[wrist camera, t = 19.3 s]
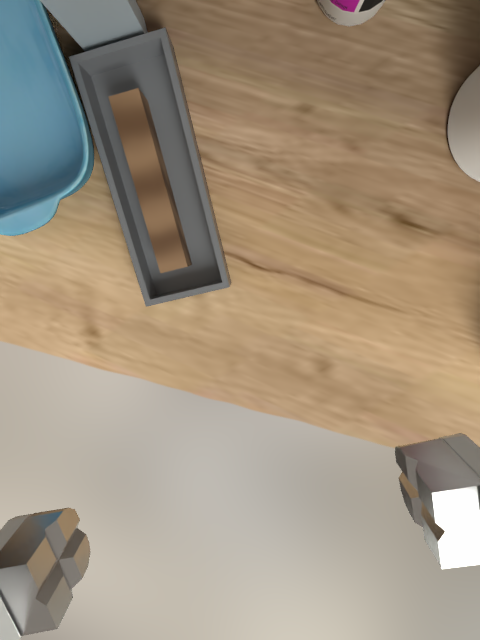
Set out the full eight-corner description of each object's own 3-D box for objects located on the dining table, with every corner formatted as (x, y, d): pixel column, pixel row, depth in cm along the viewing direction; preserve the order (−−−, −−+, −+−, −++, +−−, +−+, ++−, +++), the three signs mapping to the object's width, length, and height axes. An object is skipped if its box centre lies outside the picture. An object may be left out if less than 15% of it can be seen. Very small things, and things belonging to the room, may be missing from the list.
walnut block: (192, 264, 45) (187, 266, 42) (167, 270, 45) (160, 273, 42) (147, 100, 41) (138, 87, 37) (120, 108, 41) (108, 96, 38)
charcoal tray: (173, 47, 40) (165, 27, 36) (231, 282, 46) (229, 286, 42) (86, 73, 41) (68, 56, 37) (154, 300, 47) (146, 306, 43)
